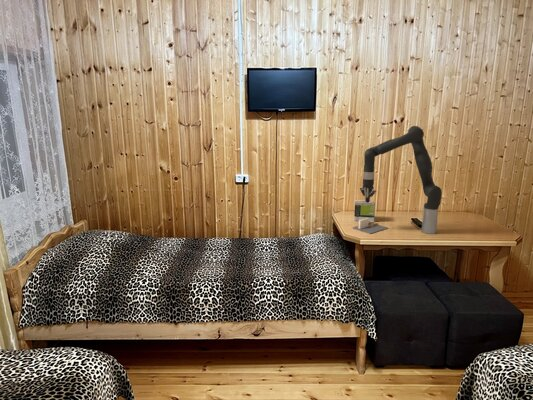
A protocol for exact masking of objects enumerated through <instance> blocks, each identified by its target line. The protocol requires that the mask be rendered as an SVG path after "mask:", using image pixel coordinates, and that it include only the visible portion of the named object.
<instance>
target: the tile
mask: <svg viewBox="0 0 533 400" xmlns="http://www.w3.org/2000/svg"><path fill="white" fill-rule="evenodd" d="M368 220H369V219H368V218H364V219H361V220H358V221H357V222H358V223H357V226H358V228H359V229H361V228H365V227H368Z"/></svg>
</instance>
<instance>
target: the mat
mask: <svg viewBox="0 0 533 400" xmlns="http://www.w3.org/2000/svg"><path fill="white" fill-rule="evenodd" d="M352 229H354V230H357V231H360V232H363V233H366V234H369V235H372V234H375V233H378V232H382V231H384V230H388V229H389V227H387V226H384V225H380V224H378V225H376V226H372V227H371V226H370V225H368V227H365V228H361V229H359V228H358V225H356V226H353V227H352Z"/></svg>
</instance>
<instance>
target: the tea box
mask: <svg viewBox="0 0 533 400" xmlns="http://www.w3.org/2000/svg"><path fill="white" fill-rule="evenodd" d="M353 211H354V215H353V217H354V219H353V221H354V222H358V220H361V219H364V218H368V219H369V220H368V222H370V221H374V222H375V216H376V215H375V211H376V202H375V200H371V199H370V201H369V202H368V203H367V202H366V201H365V199H354V210H353Z"/></svg>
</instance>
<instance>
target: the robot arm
mask: <svg viewBox="0 0 533 400" xmlns="http://www.w3.org/2000/svg"><path fill="white" fill-rule="evenodd" d="M424 136H425V132H424V130H423V129H422V128H421V127H420V126H418V125H412V126H410V128H409V129H408V130H407V133H405V134H403V135H401V136H398V137H395V138H391V139H389V140H386V141H383V142H381V143H379V144H377V145H375V146H372V147H369V148H367V149H366V150H365V151H364V154H363V155H364V159H363V160H364V161H363V162H364V164H363V173H362V174H363V175H362V187H360V188H359V191H360V193H361V194H362V196H364V200H365V201H366V202H367V203H368V202H369V201H370V200H371V198H372V197H373V196H374V195H375V194H376V193H377V190H375V189H374V188H375V187H374V185H375V161H376V157H378V156H380V155H384V154H386V153H389V152H390V151H393V150H396V149H398V148H400V147H403V146H405V145H409V144H411V146H412V150H413V155H414V160H415V165H416V167H417V170H418V174H419V176H420V179H421V185H422V190H423V194H424V195H425V196H426V197H427V199H426V202H425V203H424V204H423V213H422V221H421V222H422V223H421V232H422V233H424V234H429V235H432V234H433V235H434V234H436V233H437V227H438V217H439V216H438V215H439V209H440V208H439V207H440V205H441V200H442V194H443V191H442V188H440V186H438V185H436V184H435V181H434V180H433V174H432V173H433V163H432V159H431V157H430V154H429V151H428V150H427V148H426V145H425V142H424Z"/></svg>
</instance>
